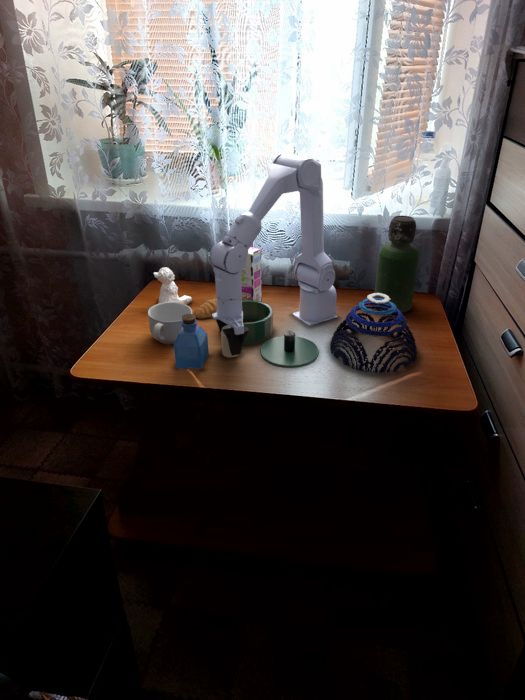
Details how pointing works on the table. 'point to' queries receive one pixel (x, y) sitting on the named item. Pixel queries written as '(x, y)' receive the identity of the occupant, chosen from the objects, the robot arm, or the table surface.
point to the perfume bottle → (191, 344)
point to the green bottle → (398, 264)
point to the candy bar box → (252, 276)
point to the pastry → (206, 309)
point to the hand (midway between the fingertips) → (231, 347)
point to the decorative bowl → (361, 320)
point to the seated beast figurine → (169, 288)
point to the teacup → (167, 320)
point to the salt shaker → (225, 343)
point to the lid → (289, 350)
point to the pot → (257, 320)
